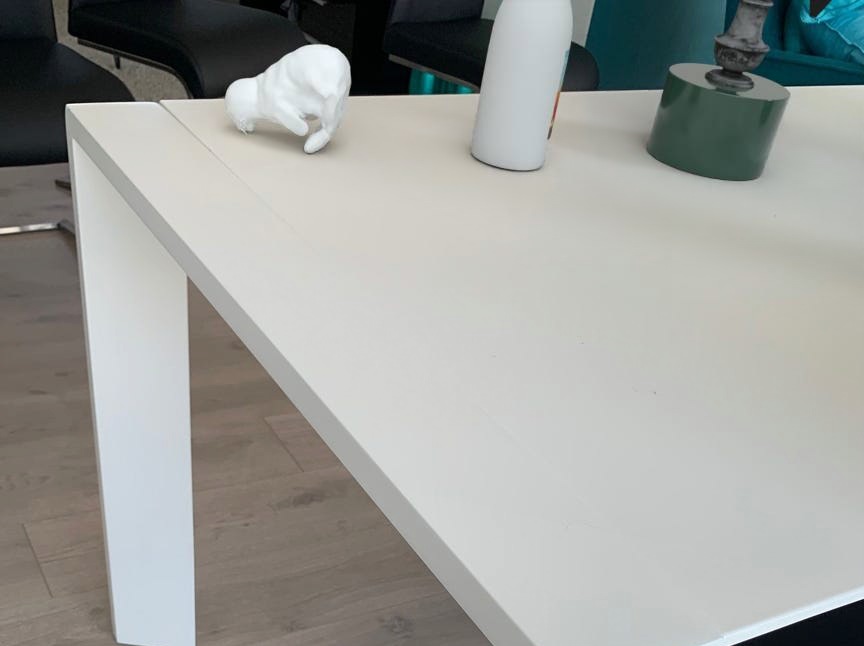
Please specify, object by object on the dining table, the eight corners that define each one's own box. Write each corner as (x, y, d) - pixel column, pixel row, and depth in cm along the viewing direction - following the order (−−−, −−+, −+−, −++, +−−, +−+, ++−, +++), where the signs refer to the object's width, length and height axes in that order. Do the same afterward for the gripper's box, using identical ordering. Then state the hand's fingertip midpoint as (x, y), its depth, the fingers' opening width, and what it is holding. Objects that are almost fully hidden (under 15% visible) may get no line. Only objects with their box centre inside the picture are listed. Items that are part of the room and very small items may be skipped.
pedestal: (772, 162, 116) (800, 86, 111) (748, 190, 107) (778, 107, 102) (664, 132, 120) (686, 56, 114) (632, 156, 111) (655, 75, 105)
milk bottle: (534, 178, 100) (589, -64, 87) (460, 160, 101) (503, -82, 88) (550, 158, 106) (603, -73, 93) (479, 141, 107) (522, -89, 94)
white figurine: (344, 56, 90) (212, 45, 91) (342, 158, 96) (218, 147, 97) (356, 41, 95) (231, 31, 96) (354, 139, 101) (236, 129, 102)
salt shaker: (766, 91, 107) (813, -44, 99) (715, 85, 105) (759, -52, 97) (742, 75, 111) (786, -56, 103) (693, 69, 110) (734, -64, 102)
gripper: (846, -154, 109) (847, 38, 109) (628, -192, 105) (627, 8, 104) (893, -214, 102) (894, -9, 101) (660, -258, 98) (660, -44, 97)
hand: (759, 0), depth 103 cm, fingers open, 13 cm apart
